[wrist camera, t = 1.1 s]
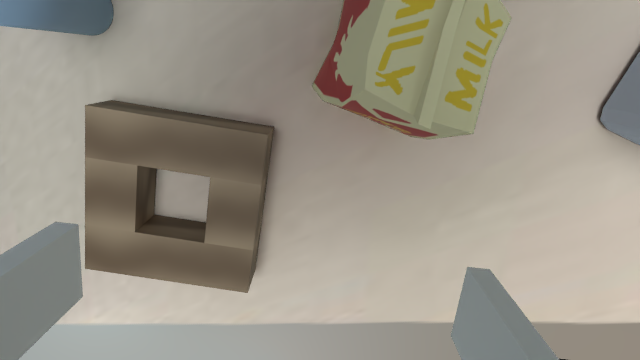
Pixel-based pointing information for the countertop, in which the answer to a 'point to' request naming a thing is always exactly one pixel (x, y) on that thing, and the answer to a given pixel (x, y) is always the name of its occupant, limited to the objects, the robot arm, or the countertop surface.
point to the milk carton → (414, 63)
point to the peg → (58, 15)
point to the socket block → (139, 194)
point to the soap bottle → (625, 105)
